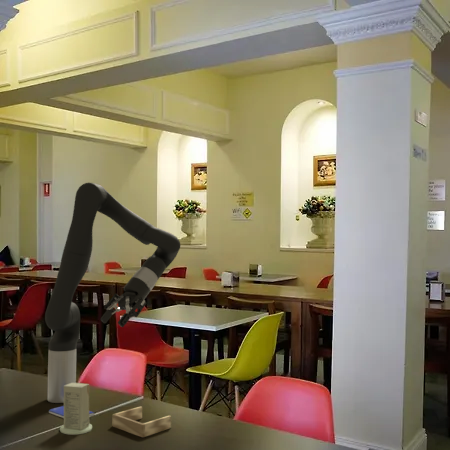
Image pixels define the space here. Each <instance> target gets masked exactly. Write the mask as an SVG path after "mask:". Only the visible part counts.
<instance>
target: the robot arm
mask: <svg viewBox="0 0 450 450" xmlns="http://www.w3.org/2000/svg"><path fill="white" fill-rule="evenodd" d="M74 196H75V197H74V205H73V211H72V218H71V223H70V226H69V230H68V233H67V237H66V241H65V245H64V248H63V251H62V254H61V255H62V256H61V260H60V265H59V269H58V271H57V272H58V273H57V276H56V280H55V284H54V288H53V290H52V294H51V296H50V299H49V301H48V305H47V307H46V311H45V314H44V321H45V324H46V326H47V327H48V328H49V329H50V330H52V331H54V334H53V336H52V338H51V339H50V340H49V342H48V358H47V359H48V360H47V361H48V362H47V364H48V365H47V401H48V402H49V403H51V404H52V403H53V404H54V403H55V404H64V386H65V385H67V384H70V383H77V345H78V341H79V339H80V327H81V312H80V309H79V307H78V305H77V304H76V303H75V302H73V297H74V295H75V292H76V290H77V287H78V286H79V284H80V283H81V282H82V280H83V278H84V276H85V275H86V272H87V271H88V267H89V265H90V261H91V258H92V257H91V256H92V251H93V242H94V240H93V227H94V223H95V219H96V216H97V213H101V214H103V215H104V216H106V217H108V218H110V219H111V220H113V222H115V223H116V224H118V226H119V227H121V228H122V229H123V231H124V232H126V233H127V234H128V235H130V236H132V237H133V238H134V239H136V240H137V241H138V242H140V243H142V244H143V245H145V246H146V245H147V246H149V245H150V244H151V245H153V246H155V247H157V248H156V249H155V250H154V252H153V253H152V255H151V256H149V257H148V258H147V259H145V261H144V262H143V264H142V265H141V266H140V268H139V269H137V270H136V272H135V273H134V274H133V275H132V276H131V278H130V279H129V280H128V282H127V283H126V284H125V285H124V286H123V293H122V294H121V295H118V294H117V293H114V294H113V295H112V297H111V298H110V299H109V300H108V301H107V302H106V304H105V305H104V309H105V310H106V311H105V312H104V313H103V315H102V316H101V318H100V321H101V322H102V323H103V324H107V322H108V321H109V320H110V319H111V317H112V316H113V315H114V314H115V313H119V312H121V311H125V313H124V314H123V315H122V316H121V317H120V318H119V320H118V322H117V324H118V325H119V327H121V328H124V327H125V325H127V323H128V322H129V320H130V319H133V317H134V318H137V317H139V315H140V314H141V313H142V311H143V310H144V308H145V307H146V305H147V301H146V300H145V299H146V298H147V296H148V295H149V294H150V293H151V291H152V290H153V288H154V287H155V286H156V284H157V282H158V280H159V279H160V277H161V276H162V275H163V274H164V272H165V270H166V269H168V267H169V266H170V265H172V263H173V262H174V260H175V259H176V257H177V255H178V253H179V251H180V249H181V242H180V240H179V239H178V237H177V236H176V235H175V234H173V233H171V232H169V231H166V230H164V229H162V228H159V227H157V226H155V225H153V224H152V223H150V222H149V221H147V220H146V219H144V218H143V217H141V216H140V215H138V214H137V213H135V212H133V211H132V210H131V209H129V208H128V207H126V206H125V205H123V204H122V203H120V201H119V200H117V199H116V198H115V197H114V196H113V195H112V194H111V193H109V192H108V190H106V188H105V187H104V186H102V185H101V184H99V183H95V182H85V183H83V184H81V185H80V186H79V187H78V189H77V190H76V193H75V195H74Z"/></svg>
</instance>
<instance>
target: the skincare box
mask: <svg viewBox="0 0 450 450" xmlns="http://www.w3.org/2000/svg"><path fill="white" fill-rule="evenodd" d="M63 406H64V418H63V425H64V428H69V429H78V430H82V429H84V428H86V427H88V426H89V424H90V416H89V411H90V384H89V383H81V382H80V383H79V382H76V383H70V384H67V385H65V386H64V403H63Z"/></svg>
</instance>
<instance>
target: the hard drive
mask: <svg viewBox="0 0 450 450" xmlns="http://www.w3.org/2000/svg"><path fill="white" fill-rule="evenodd" d="M48 413H49V414H52V415H54V416H56V417H60V418H62V419H64V405H61V406H58V407H54V408H51V409H49V410H48ZM92 416H95V412H93V411H91V410H89V417H92Z"/></svg>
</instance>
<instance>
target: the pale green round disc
mask: <svg viewBox="0 0 450 450" xmlns="http://www.w3.org/2000/svg"><path fill="white" fill-rule="evenodd" d="M92 430H93V424H91V423H89V426H88V427H86V428H84V429H82V430H78V429H69V428H64V424H63V425H61V426H60V428H59V431H60V433H62V434H64V435H69V436H76V435H83V434H88V433H90V432H91V431H92Z"/></svg>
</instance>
